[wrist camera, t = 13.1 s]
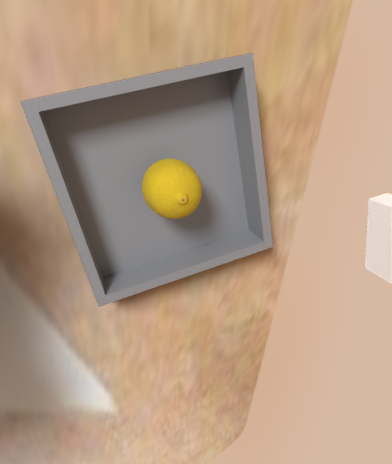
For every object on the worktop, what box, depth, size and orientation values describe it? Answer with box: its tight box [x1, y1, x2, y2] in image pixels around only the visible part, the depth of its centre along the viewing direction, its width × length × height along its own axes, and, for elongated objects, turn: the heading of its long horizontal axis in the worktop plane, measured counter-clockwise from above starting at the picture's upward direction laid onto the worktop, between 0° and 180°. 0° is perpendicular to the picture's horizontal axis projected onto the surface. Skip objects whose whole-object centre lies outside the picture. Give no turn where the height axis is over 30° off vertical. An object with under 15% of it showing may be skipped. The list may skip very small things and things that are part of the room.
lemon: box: [142, 159, 202, 219], centre depth 33 cm, size 6×6×8 cm
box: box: [20, 53, 273, 306], centre depth 35 cm, size 20×20×4 cm
